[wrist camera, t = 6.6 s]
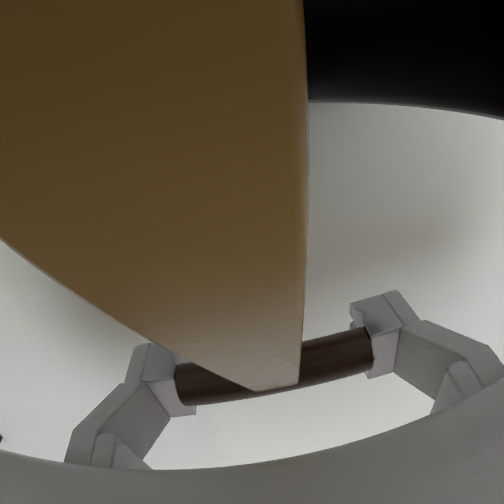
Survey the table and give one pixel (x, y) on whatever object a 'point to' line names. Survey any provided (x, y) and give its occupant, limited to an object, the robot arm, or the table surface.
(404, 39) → the switch bracket
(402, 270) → the table surface
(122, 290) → the switch lever
